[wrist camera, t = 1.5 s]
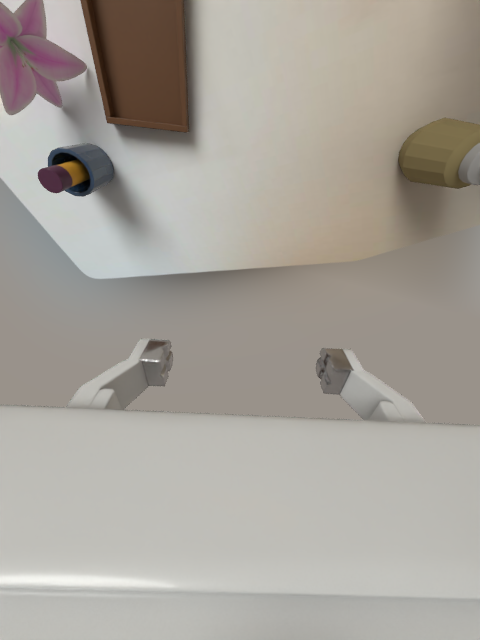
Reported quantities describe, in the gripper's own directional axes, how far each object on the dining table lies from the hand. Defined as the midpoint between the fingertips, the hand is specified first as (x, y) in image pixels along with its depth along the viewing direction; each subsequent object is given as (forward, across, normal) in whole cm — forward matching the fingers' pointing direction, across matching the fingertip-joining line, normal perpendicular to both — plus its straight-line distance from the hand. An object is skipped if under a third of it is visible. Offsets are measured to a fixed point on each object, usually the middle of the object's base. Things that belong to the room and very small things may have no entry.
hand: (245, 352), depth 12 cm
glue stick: (+36, +25, -6) cm, 44 cm away
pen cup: (+36, +25, -7) cm, 45 cm away
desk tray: (+35, +15, -20) cm, 43 cm away
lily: (+35, +28, -18) cm, 48 cm away
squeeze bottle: (+39, -28, -12) cm, 49 cm away
